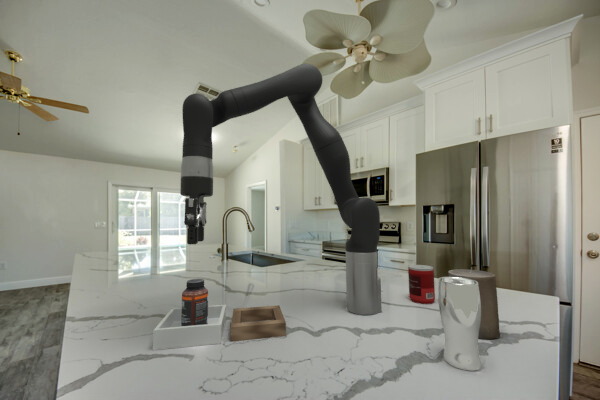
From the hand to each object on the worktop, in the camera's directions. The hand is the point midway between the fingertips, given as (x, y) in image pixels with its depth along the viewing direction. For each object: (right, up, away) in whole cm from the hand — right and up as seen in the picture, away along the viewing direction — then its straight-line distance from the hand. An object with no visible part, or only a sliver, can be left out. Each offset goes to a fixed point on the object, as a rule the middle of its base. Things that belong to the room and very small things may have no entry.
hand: (196, 242), depth 63 cm
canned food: (+66, -23, +22) cm, 73 cm away
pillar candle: (+67, -21, -1) cm, 71 cm away
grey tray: (0, -21, -2) cm, 21 cm away
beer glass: (+56, -20, -15) cm, 61 cm away
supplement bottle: (0, -21, -1) cm, 21 cm away
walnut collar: (+15, -21, +1) cm, 26 cm away
